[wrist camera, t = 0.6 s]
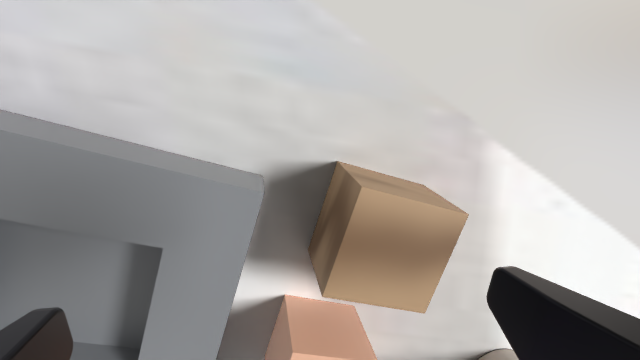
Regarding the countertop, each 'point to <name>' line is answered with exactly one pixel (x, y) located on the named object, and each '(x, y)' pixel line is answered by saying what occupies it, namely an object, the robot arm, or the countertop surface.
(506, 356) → the coffee cup
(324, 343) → the peach cube
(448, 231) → the walnut block
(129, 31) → the countertop surface
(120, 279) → the grey slotted square board
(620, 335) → the robot arm
